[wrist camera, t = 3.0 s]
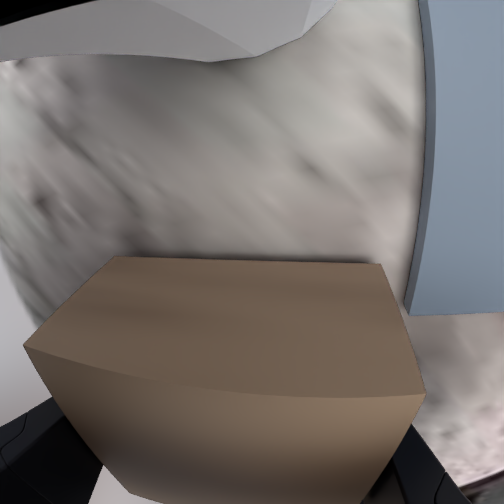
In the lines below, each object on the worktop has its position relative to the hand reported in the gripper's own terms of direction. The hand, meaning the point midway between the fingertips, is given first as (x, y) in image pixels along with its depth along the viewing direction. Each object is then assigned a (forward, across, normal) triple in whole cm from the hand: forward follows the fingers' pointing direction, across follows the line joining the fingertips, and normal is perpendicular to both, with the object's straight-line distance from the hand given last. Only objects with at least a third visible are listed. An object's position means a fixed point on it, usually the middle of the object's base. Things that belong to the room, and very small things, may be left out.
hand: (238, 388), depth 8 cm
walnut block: (+1, 0, 0) cm, 1 cm away
